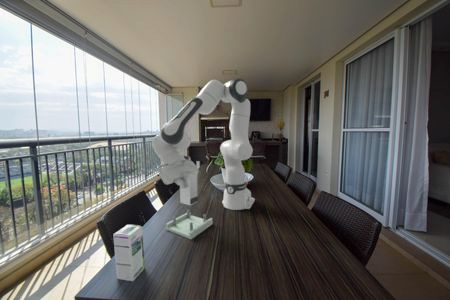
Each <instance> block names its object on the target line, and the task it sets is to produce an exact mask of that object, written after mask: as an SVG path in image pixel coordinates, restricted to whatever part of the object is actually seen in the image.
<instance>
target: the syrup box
mask: <svg viewBox="0 0 450 300" xmlns="http://www.w3.org/2000/svg"><path fill="white" fill-rule="evenodd" d="M113 245H114V246H113V247H114V259H115V260H114V261H115V269H116V271H115V272H116V278H117V280H122V281H128V282H134V281H135V280H136V278H137V277H138V276H139V275H140V274H141V273H143V271H144V269H145V268H146V263H145V262H146V261H145V249H144V235H143V226H141V225H138V224H126V225H125V226H124V227H122V228H120V229H119V230H118V231H116V232H115V233H113Z"/></svg>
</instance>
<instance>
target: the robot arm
mask: <svg viewBox="0 0 450 300" xmlns="http://www.w3.org/2000/svg"><path fill="white" fill-rule="evenodd" d="M248 92H249V88H248V85H247V82H246V81H245V80H244V79H243V78H234V79H232V80H229V81H227V82H225V83H222V82H220V80H217V79H211V80H209V81H208V82H207V83H206V84H205V85H204V86H203V87H202V89H201V90H200V91H199V93H198V94H197V95H196V96H195V97H193V98H191V99H190V100H189V101H187V103H186V104H185V105H184V106H183V107H182V108H181V109H180V110H179V111H178V113H177V114H176V115H175V116H174V117H173V118H171V119H170V120H169V121H167V122H166V123H165V124H164V125H163V126H162V127H161V130H160V131H161V132H160V134H157V135H156V136H154V137H153V139H152V141H151V146H152V148H153V150H154V152H155V154H156V156H157V157H158V158H159V159H160V160H161V163H162V164H161V165H158V166H157V168H156V170H157V172H158V173H159V175H160V178H161V180H162V182H163V183H164V185H170V184H171V185H172V184H173V183H175V184H176V185H177V186H179V187H180V186H181V188H182V189H184V188H186V184H185V183H182V182H181V180H180V178H182V176H181V174H180V172H184V171H193V172H197V175H198V174H199V172H200V171H199V170H200V169H199V168H198V167H197V165H196V164H195V163H194V161H192V160H191V157H190V156H188V155H183V154H180V153H181V152H183V151H185V150H187V149H188V148H189V147H190V146H191V144H192V139H191V136H190V135H189V134H188V132H187V131H186V126H187V125H188V124H189V122H190V121H191V120H192V119H193V118H194V117H195V116H196V115H197V114H200V115H203V116H205V115H206V116H208V115H210V114H212V112H213V111H214V110H215V109H216V108H217V105H219V104H220V103H223V104H229V103H230V106H231V112H230V118H229V124H228V126H229V127H228V128H229V129H228V130H229V132H230V136H231V138H230V139H228V140H225V141H223V142H222V143H221V144H220V146H219V149H220V153H221V155H222V158H223V162H224V167H225V168H224V169H225V183H224V185H225V188H224V190H223V200H222V201H221V203H222V205H223V207H224V208H226V209H227V210H231V211H240V210H241V211H242V210H250V209H251V208H252V206H253V204H254V203H255V200H256V199H255V198H254V197H252V192H251V190H250V189H248V188H247V185H248V183H249V182H248V181H247V180H246V179H245V178H246V176H245V175H246V172H245V167H244V166H243V163H242V161H246V160H248V159H250V158H251V156H252V155H253V151H254V149H253V147H252V145H251V143H250V141H249V124H250V118H251V117H250V116H251V102H250V99H248V96H249V95H248V94H249V93H248ZM219 102H220V103H219Z"/></svg>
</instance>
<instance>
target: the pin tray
mask: <svg viewBox="0 0 450 300" xmlns="http://www.w3.org/2000/svg"><path fill="white" fill-rule="evenodd" d="M202 217H203V218H202ZM202 217H199V216H195V215H193V214H191V209H187V210H186V213H184V214H182V215H180V216H178V217H176V216H173V217H172V220H171V221H169V222H167V223H165V229H166V231H169V232H171V233H174V234H175V235H176V234H177V235H179V236H182V237H184V238H186V239H189V240H193V239H194V238H195V237H197V236H199V234H200V233H202V232H204V231H206V229H208V228H209V227H211V226H212V225H213V223H214V222H213V217H210V218H208V219H207V215H206V214H205V213H204V214H203V215H202Z"/></svg>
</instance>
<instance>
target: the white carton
mask: <svg viewBox="0 0 450 300" xmlns="http://www.w3.org/2000/svg"><path fill="white" fill-rule="evenodd" d="M180 174H181V176H182V178H180V180H181V182H182V183H185V184H186V188H184V189H182V188H181V186H179V199H180V201H179V202H180V204H184V205H187V206H192V205H194V204H196V203H198V201H199V200H198V197H199V195H198V174H197V172H193V171H184V172H180Z"/></svg>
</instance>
